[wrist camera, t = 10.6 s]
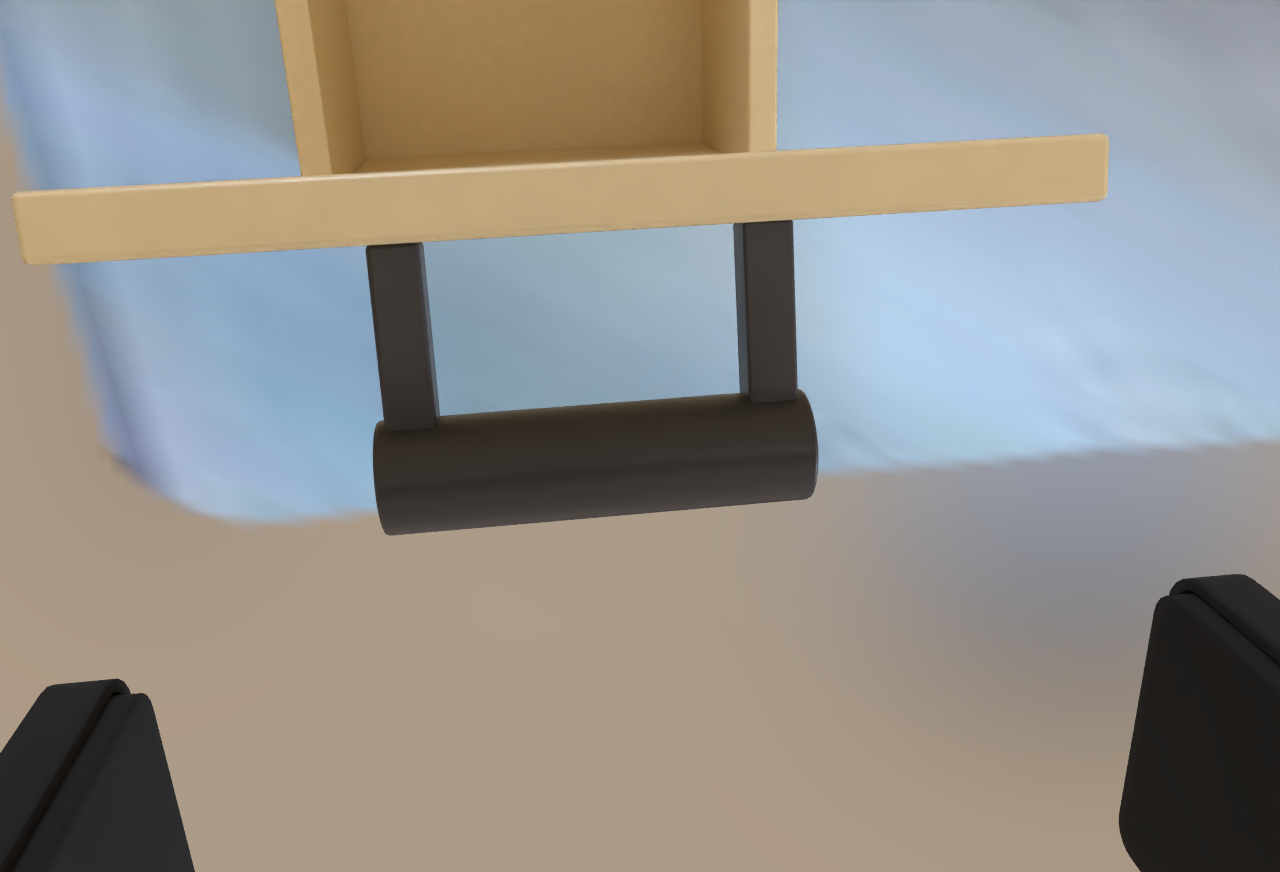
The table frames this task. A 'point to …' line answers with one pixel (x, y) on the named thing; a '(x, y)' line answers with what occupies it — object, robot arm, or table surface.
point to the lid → (557, 204)
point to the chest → (525, 81)
